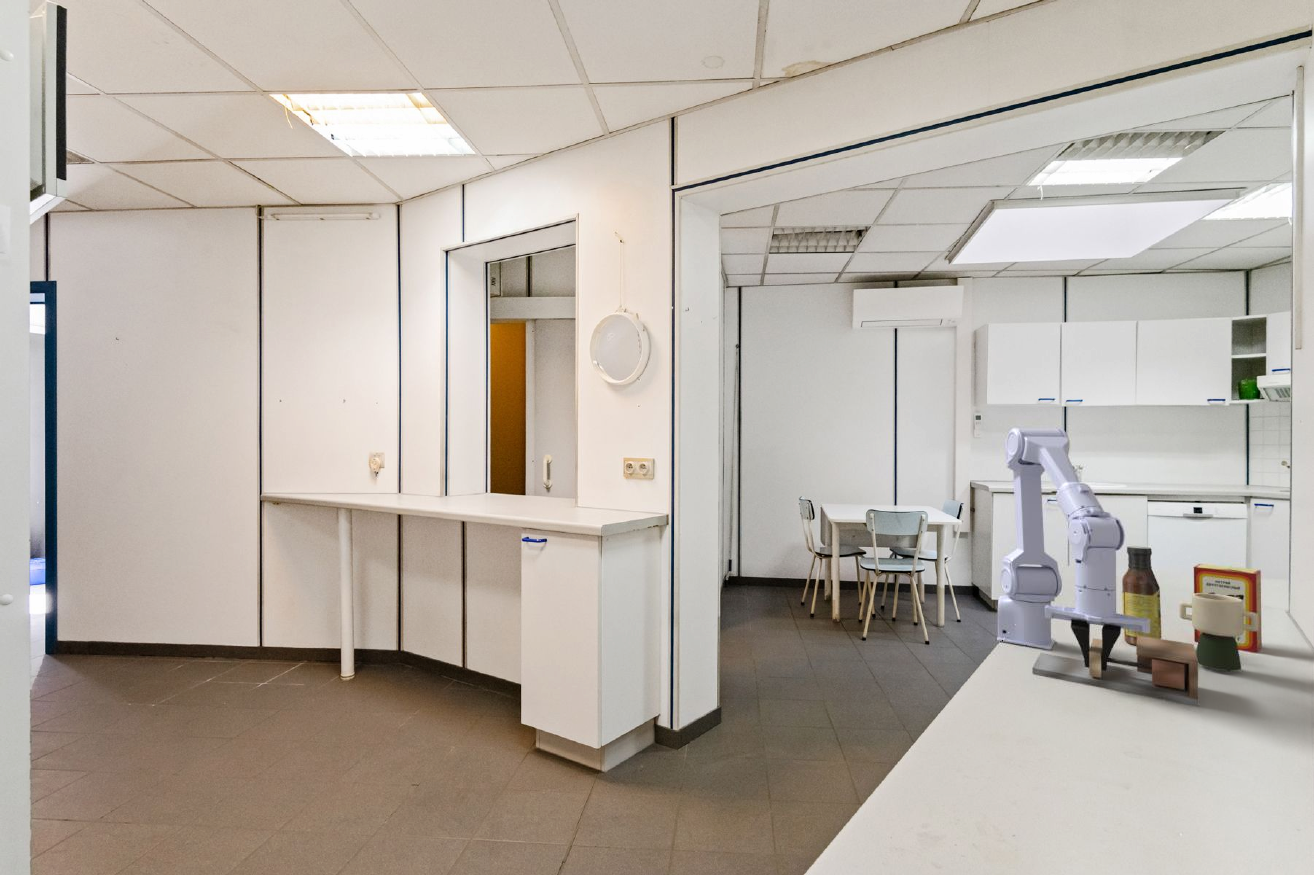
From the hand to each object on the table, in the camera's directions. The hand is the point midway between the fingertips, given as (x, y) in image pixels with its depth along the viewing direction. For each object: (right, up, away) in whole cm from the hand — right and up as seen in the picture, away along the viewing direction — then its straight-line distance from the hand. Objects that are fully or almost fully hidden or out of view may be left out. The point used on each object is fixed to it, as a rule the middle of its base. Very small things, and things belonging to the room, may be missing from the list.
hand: (1095, 667), depth 105 cm
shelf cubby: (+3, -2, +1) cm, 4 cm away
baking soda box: (+44, -4, +23) cm, 49 cm away
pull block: (+6, -1, -1) cm, 6 cm away
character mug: (+28, -3, +7) cm, 29 cm away
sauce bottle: (+25, -4, +22) cm, 34 cm away
